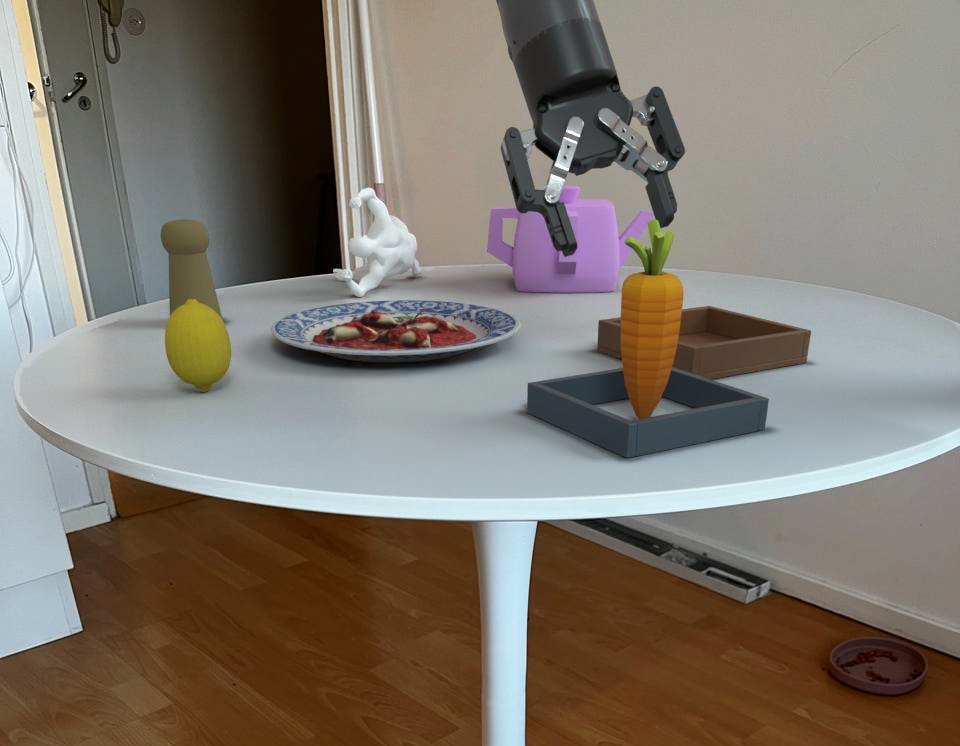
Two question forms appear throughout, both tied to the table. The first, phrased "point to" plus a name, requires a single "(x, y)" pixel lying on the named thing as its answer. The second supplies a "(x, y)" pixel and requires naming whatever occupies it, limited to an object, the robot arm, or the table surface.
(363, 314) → the ceramic plate
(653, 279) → the carrot
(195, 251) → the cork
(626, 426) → the dark blue-gray square frame
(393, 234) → the person figurine
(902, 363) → the table surface
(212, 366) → the lemon
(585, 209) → the teakettle
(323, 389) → the table surface
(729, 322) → the walnut tray
